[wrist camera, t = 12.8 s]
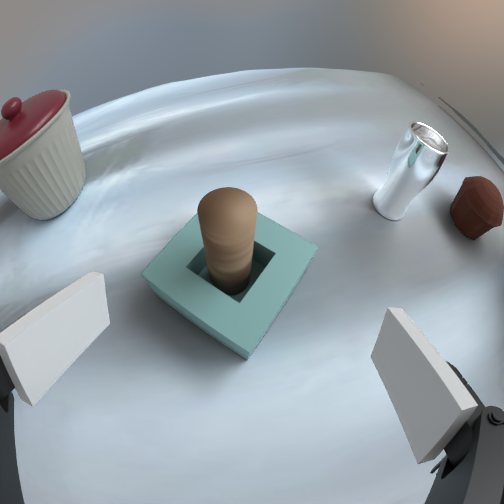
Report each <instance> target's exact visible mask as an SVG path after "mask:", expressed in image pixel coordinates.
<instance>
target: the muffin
mask: <svg viewBox="0 0 504 504" xmlns="http://www.w3.org/2000/svg"><path fill="white" fill-rule="evenodd" d="M503 212H504V205H503V201H502V197H501V194H500V192H499V190H498V189H497V187H496V186H495V185H494V184H493V183H492V182H491V181H490V180H488V179H486V178H484V177H481V176H475V177H466V178H465V179H464V181H463V183H462V186H461V188H460V189H459V191H458V193H457V195H456V197H455V199H454V201H453V202H452V204H451V215H452V217H453V219H454V222H455V224H456V226H457V227H458V228H459V229H460V230H461V231H462V233H463V234H464V235H465V236H467V237H470V238H471V239H473V240H475V239H477V238H478V237H480V236H481V235H483V234H484V233H486V232H487V231H489V230H490V229H492V228H493V227H497V226H500V225H501V223H502V220H503Z"/></svg>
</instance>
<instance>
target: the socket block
mask: <svg viewBox="0 0 504 504" xmlns="http://www.w3.org/2000/svg"><path fill="white" fill-rule="evenodd" d="M317 248H318V246H317V245H315V244H313V243H311V242H310V241H308V240H306V239H305V238H303V237H301V236H299V235H298V234H296V233H294V232H292V231H291V230H289V229H287V228H285V227H283V226H282V225H280V224H278V223H276V222H275V221H273V220H271V219H269V218H267V217H266V216H264V215H262V214H260V213H258V212H257V218H256V228H255V237H254V246H253V255H252V264H251V274H250V281H249V284H248V286H247V288H246V289H245V290H244V291H243V292H241V293H239V294H237V295H231V296H229V295H226V294H225V293H223V292H222V291H220V290H219V289H217V288H216V287H214V286H213V285H212V283H211V279H210V275H209V270H208V265H207V260H206V255H205V250H204V245H203V240H202V235H201V230H200V224H199V219H198V213H197V214H196V215H195V216H194V217H193V218H192V219H191V220H190V221H189V222H188V223H187V224H186V225H185V226H184V227H183V228H182V229H181V230H180V231H179V233H178V234H177V235H176V236H175V237H174V238H173V239H172V240H171V241H170V242H169V243H168V244H167V245H166V247H165V248H164V249H163V250H162V251H161V252H160V253H159V254H158V255H157V256H156V258H155V259H154V260H153V261H152V262H151V263H150V264H149V265H148V267H147V268H146V269H145V270H144V271H143V272H142V273H141V274H142V276H143V277H144V279H145V280H146V281H147V283H148V284H149V286H150V287H151V288H152V290H153V291H154V293H155V294H156V295H157V296H158V297H159V298H161V299H162V300H163V301H164V302H166V303H167V304H168V305H170V306H171V307H172V308H173V309H175V310H176V311H177V312H179V313H180V314H181V315H183V316H184V317H185V318H187V319H188V320H189V321H191V322H192V323H193V324H195V325H196V326H198V327H199V328H200V329H202V330H203V331H205V332H206V333H207V334H209V335H210V336H212V337H213V338H215V339H216V340H217V341H219V342H220V343H222V344H223V345H225V346H226V347H228V348H229V349H231V350H232V351H234V352H235V353H237V354H238V355H240V356H241V357H243V358H244V359H246V360H248V359H249V357H250V356H251V354H252V353H253V352H254V350H255V349H256V347H257V346H258V344H259V343H260V341H261V340H262V338H263V337H264V335H265V334H266V333H267V331H268V330H269V328H270V327H271V325H272V324H273V322H274V321H275V319H276V317H277V316H278V314H279V313H280V311H281V310H282V308H283V307H284V305H285V304H286V302H287V301H288V299H289V297H290V296H291V294H292V293H293V291H294V290H295V288H296V286H297V285H298V283H299V282H300V280H301V278H302V277H303V275H304V273H305V272H306V270H307V268H308V266H309V264H310V262H311V260H312V258H313V256H314V254H315V252H316V250H317Z"/></svg>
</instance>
